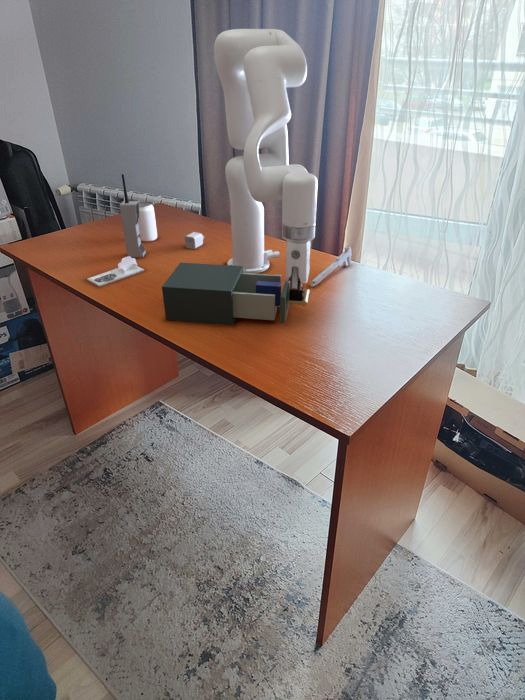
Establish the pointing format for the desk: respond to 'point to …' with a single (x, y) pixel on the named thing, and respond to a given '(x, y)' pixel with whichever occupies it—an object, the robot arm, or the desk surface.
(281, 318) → the drawer
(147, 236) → the can
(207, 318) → the cabinet
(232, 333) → the desk surface
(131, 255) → the vintage mobile phone
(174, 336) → the desk surface
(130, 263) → the car cutout
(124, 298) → the desk surface
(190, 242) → the usb wall charger
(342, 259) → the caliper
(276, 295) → the card deck
